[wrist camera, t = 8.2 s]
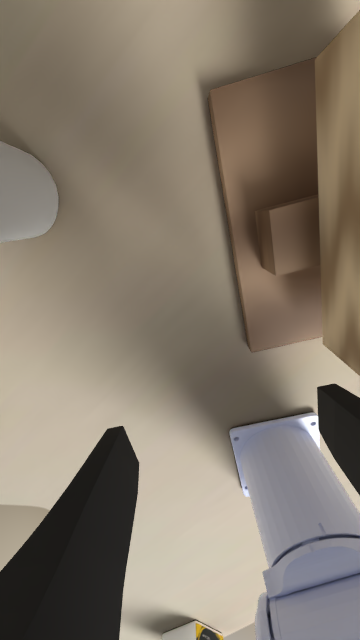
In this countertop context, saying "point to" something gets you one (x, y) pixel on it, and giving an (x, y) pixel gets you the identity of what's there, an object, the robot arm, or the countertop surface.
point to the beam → (340, 191)
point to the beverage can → (25, 195)
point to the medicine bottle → (193, 632)
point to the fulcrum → (272, 200)
